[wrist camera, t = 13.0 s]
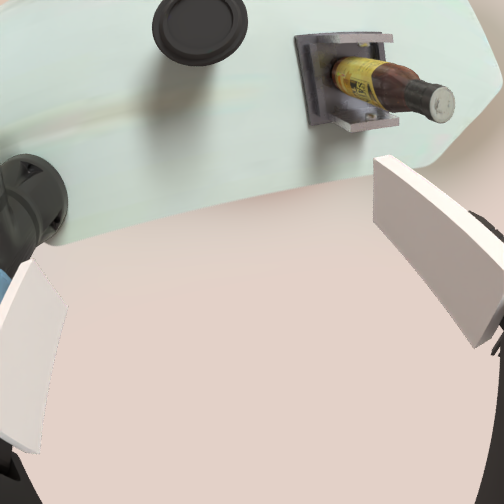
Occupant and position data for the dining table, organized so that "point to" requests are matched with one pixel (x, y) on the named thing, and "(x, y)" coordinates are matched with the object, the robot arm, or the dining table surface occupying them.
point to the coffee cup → (199, 30)
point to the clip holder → (323, 88)
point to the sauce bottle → (392, 88)
